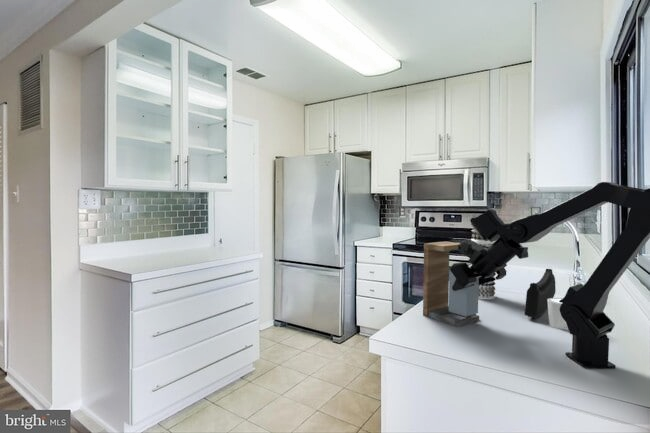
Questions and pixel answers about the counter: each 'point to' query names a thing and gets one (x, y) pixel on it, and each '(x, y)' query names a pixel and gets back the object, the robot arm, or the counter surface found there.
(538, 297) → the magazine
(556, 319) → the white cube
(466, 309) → the sleeve
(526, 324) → the counter surface
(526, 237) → the robot arm
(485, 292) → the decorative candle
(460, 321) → the wooden c-shaped stand
